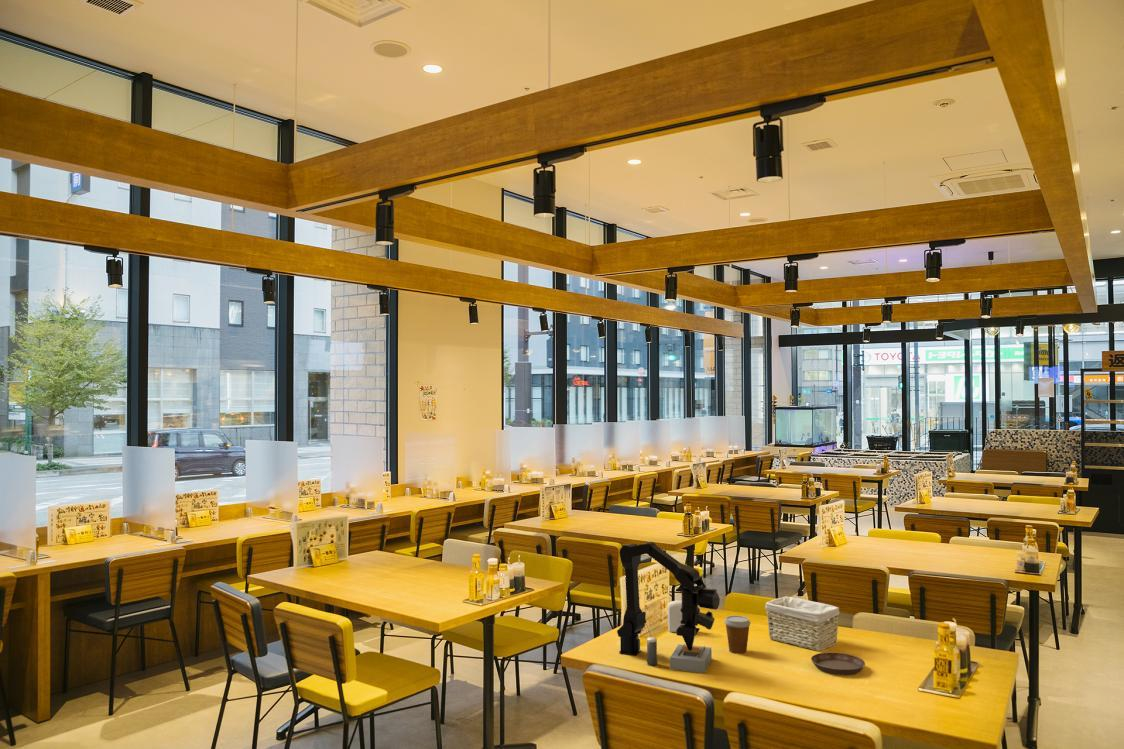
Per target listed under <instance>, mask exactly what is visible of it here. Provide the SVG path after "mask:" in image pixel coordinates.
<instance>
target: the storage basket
mask: <svg viewBox="0 0 1124 749" xmlns="http://www.w3.org/2000/svg"><path fill="white" fill-rule="evenodd" d="M764 608H765V610H766V616H767V628H768V629H767V630H768V636H769V639H771V640H774V641H776V642H781V643H785V644H790V645H793V646H796V647H800V648H805V649H808V650H809V649H810V650H813V651H818V652H822V651H823V650H826V649H829V648H831V647H833V646H835V645H836V644H837V642H838V641H837V640H838V629H839V625H838V624H839V615H840V608H839V607H837V606H834V605H831V604H827V603H823V602H817V601H812V600H808V599H804V598H799V597H792V596H787V595H785V596H782V597H779V598H775V599H772V600H769V601H767V602H766V603H765V607H764Z"/></svg>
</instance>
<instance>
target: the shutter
mask: <svg viewBox="0 0 1124 749" xmlns="http://www.w3.org/2000/svg"><path fill="white" fill-rule="evenodd" d="M702 647H703V646H702V645H694V644H693V647H692V650H688V648H687V645H686V644H685V646H682V651H686V652H696V653H700V651H701V649H702Z"/></svg>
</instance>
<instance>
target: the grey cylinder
mask: <svg viewBox="0 0 1124 749" xmlns="http://www.w3.org/2000/svg"><path fill="white" fill-rule="evenodd" d="M657 643H658V639H657V638H656V637H653V636H651V637H650V636H649V637H647V638H646V657H647V658H646V662H647V666H648V667H655V666H657V665H658V646H657V645H658V644H657Z"/></svg>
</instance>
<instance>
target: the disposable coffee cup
mask: <svg viewBox="0 0 1124 749" xmlns="http://www.w3.org/2000/svg"><path fill="white" fill-rule="evenodd" d="M724 624H725V627H726V628H725V630H726V636H727V642H728V644H727V645H728V651H729V652H731V653H732V654H737V655H742V654H746V653H747V652H748V651H747V649H748V640H749V631H750V630H749V629H750V625H751V621H750V619H749V617H747V616H742V615H728V616H726V617H725V620H724Z"/></svg>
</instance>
